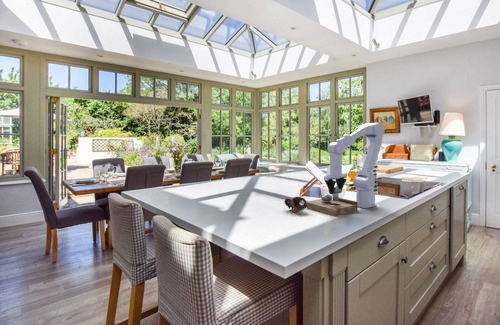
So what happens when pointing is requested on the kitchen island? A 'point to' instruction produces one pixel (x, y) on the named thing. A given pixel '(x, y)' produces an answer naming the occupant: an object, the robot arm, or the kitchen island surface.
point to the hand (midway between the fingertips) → (335, 193)
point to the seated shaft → (326, 198)
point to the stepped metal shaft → (336, 193)
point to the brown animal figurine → (295, 204)
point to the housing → (333, 206)
